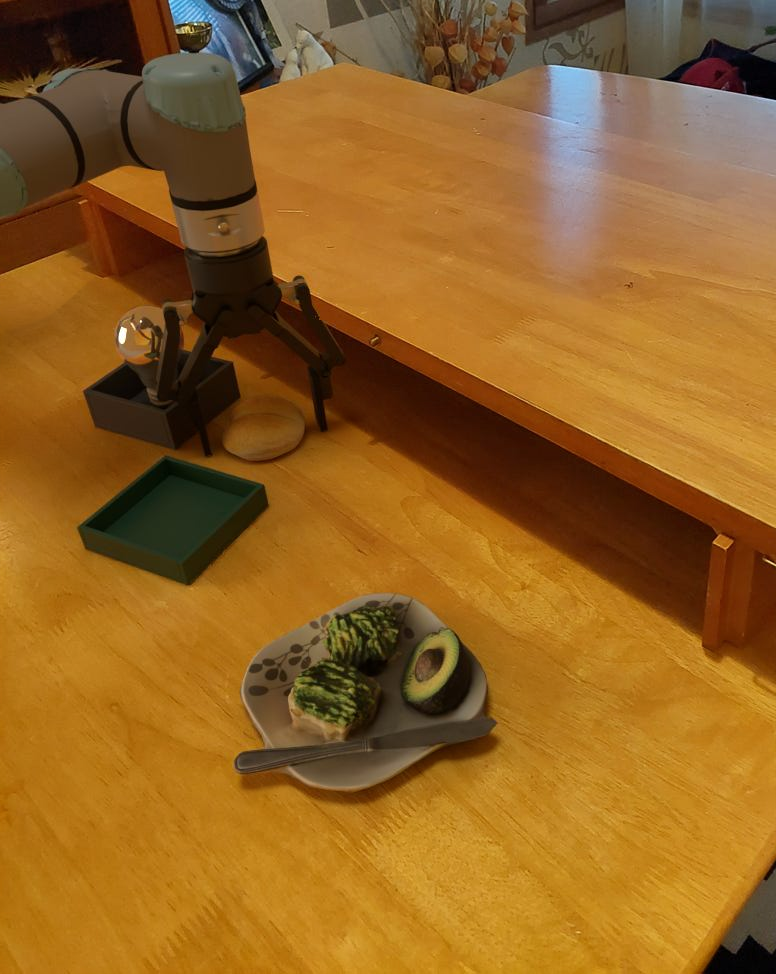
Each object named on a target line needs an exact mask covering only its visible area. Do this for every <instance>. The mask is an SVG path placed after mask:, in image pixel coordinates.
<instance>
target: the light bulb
mask: <svg viewBox="0 0 776 974" xmlns="http://www.w3.org/2000/svg"><path fill="white" fill-rule="evenodd" d="M164 327H165V320H164V315H163V310H162V307H159V306H155V305H147V304H146V305H138V306H134V307H133V308H131V309H129V310H126V312H124V313H123V315H122V316H121V317H119V319H118V321H117V323H116V325H115V327H114V331H113V343H114V344H113V345H114V348H115V350H116V353H117V355H118V357H119V358H120V360H121V361H122V362H123V363H125V364H126V365H127V366H128V367H130V368H131V369H132V370H134V371H135V372H136V373H137V374H138V375H139V377H140V379H141V381H142V383H143V384H144V385H145V386H146V387H147V392H148V396H149V398H150V402H151V403H152V404H154V405H156V406H158V407H160V408H163V409H167V408H168V407H169V406H171V405H172V404H173V403H175V402H176V401H173V400H168V401H166V402H161V401H159V400H158V399H157V394H156V387H155V382H156V376H157V369H158V363H159V357H160V351H161V345H162V339H163V333H164ZM180 333H181V335H180V343H179V348H178V354H177V360H176V365H175V371H174V377H173V382H172V383H174V382H175V381H176V382H177V378H178V363H179V360H180V357H181V355H182V352H183V350H185V349H184V348H185V337H184V336H185V335H184V332H183V329H182V326H180Z"/></svg>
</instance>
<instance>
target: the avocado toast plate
mask: <svg viewBox="0 0 776 974" xmlns="http://www.w3.org/2000/svg"><path fill="white" fill-rule="evenodd" d="M488 688H489V685H488V680H487V674H486V672H485V670H484V668H483V666H482V664H481V662H480V661H479V659H478V658H477V656H476V655H475V654H474V653H473V652H472V651H471V650H470V648H468V647H467V646H466V644H465V643H464V642H463V641H462V640H461V638H460V637H459V636H458V634H457V633H456V632H455V631H454V630H453V629H452V628H449V627H448V626H447V625H446V624H445V622H443V621H442V620H441V618H439V617H438V616H437V615H436V613H434V612H433V611H432V609H430V608H429V607H427V606H426V605H425V604H424V603H423V602H422V601H420V600H418V599H417V598H415V597H412V596H410V595H406V594H401V593H397V592H396V593H393V592H392V593H391V592H374V593H367V594H363V595H361V596H358V597H355V598H352V599H350V600H348V601H346V602H344V603H342V604H340V605H338V606H336V607H334V608H333V609H330V610H329V611H327V612H325V613H323V614H321V615H320V616H318V617H316V618H315V619H312V620H310V621H308V622H307V623H305V624H304V625H301V626H299V627H297V628H295V629H291V630H290V631H289V632H287V633H286V634H284V635H282V636H279V637H278V638H276V639H274V640H273V641H271V642H269V643H268V644H266V645H264V646H263V647H262V648H261V649H259V650H258V651H257V652H256V654H255V655H254V656H253V658H252V659H251V660H250V662H249V663H248V665H247V668H246V671H245V674H244V676H243V679H242V682H241V684H240V687H239V691H238V692H239V696H240V699H241V703H242V705H243V706H244V708H245V710H246V711H247V712H248V716H249V718H250V720H251V722H252V724H253V726H254V727H255V729H256V730H257V731H258V733H259V734H260V735H261V738H262V741H263V745H264V748H259V749H252V750H251V749H250V750H244V751H241V752H240V753H239V754H237V755H236V756H235V758H234V759H233V768H234V772H236V774H239V775H241V776H248V775H261V774H269V773H281V774H284V775H289V776H290V777H292V778H293V779H296V780H297V781H299V782H300V783H302V784H303V785H305V786H307V787H310V788H314V789H319V790H320V789H321V790H324V791H336V792H343V793H349V794H350V793H356V792H359V791H362V790H366V789H369V788H372V787H374V786H376V785H379V784H382V783H384V782H386V781H388V780H390V779H392V778H393V777H395V776H398V775H399V774H401V773H402V772H404V771H405V770H407V769H408V768H410V767H411V766H413V765H414V764H416V763H417V762H419V761H421V760H422V759H424V758H426V757H427V756H429V755H430V754H432V753H433V752H436V751H437V750H440V749H441V748H445V747H447V746H450V745H451V746H452V745H456V744H460V743H461V744H462V743H465V742H470V741H472V740H475V739H478V738H479V739H480V738H482V737H484V736H487V735H490V733H491V732H492V731H493V729H494V728H495V727H496V726H497V725H498V724H499V722H498V721H497V720H495V719H494V718H493V717H492V716H488V717H487V716H485V714H486V712H485V710H486V705H487V697H488V695H489V694H488V693H489V689H488Z"/></svg>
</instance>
